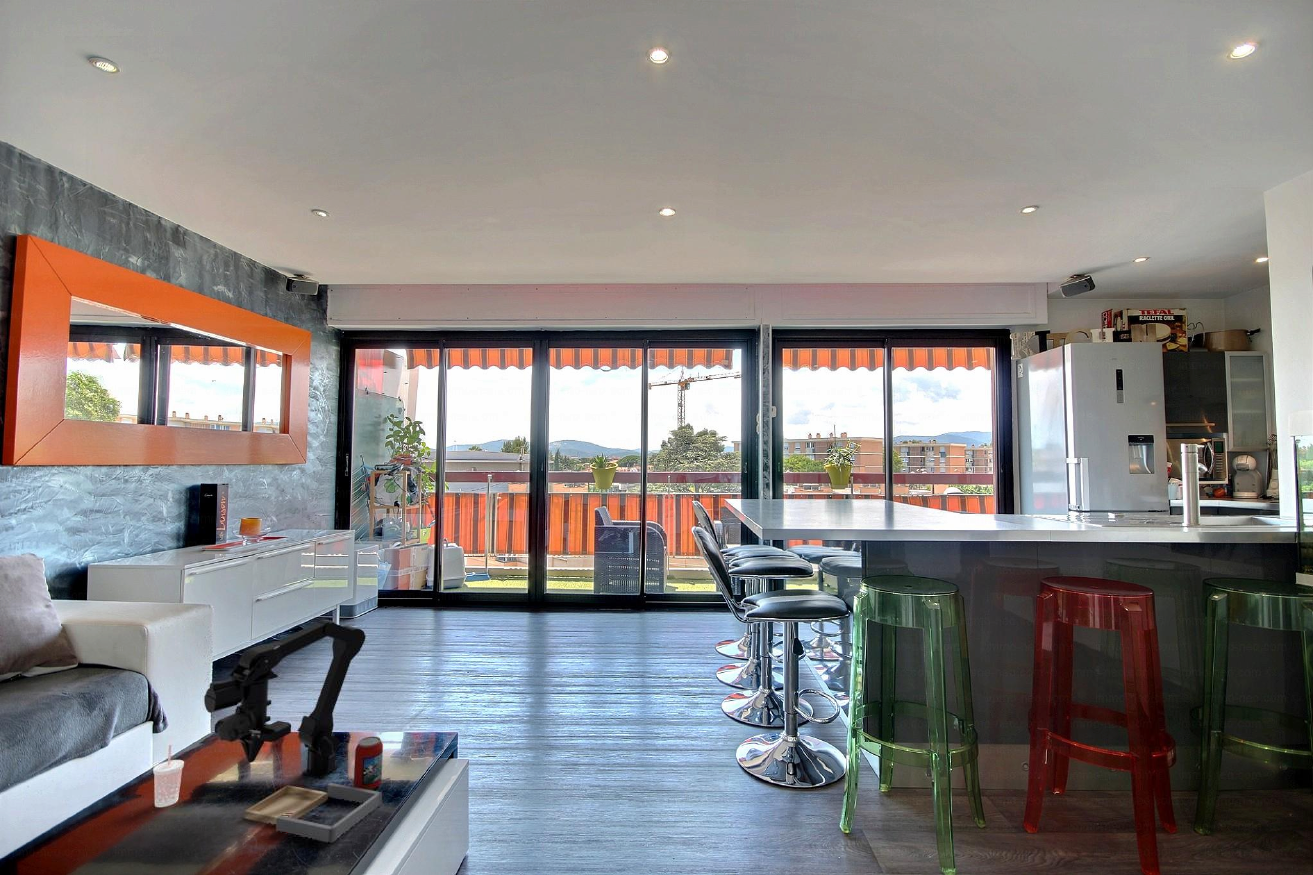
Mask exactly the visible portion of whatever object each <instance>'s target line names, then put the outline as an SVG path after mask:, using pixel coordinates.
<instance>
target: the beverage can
mask: <svg viewBox="0 0 1313 875" xmlns="http://www.w3.org/2000/svg"><path fill="white" fill-rule="evenodd" d="M354 751H355V753H354V765H353V766H354V769H353V770H354V771H353V773H354V774H353V787H355V788H361V789H366V790H371V791H373V790H374V789H376V788H377V787H378V786H380V785H381V783H382V778H383V777H382V774H383V772H382V771H383V757H384V755H383V753H384V744H383V743H382V740H381V738H380V737H378V736H368V737H364V738H362V739H360V740H359V741H358V744H357V745H356V747H355V749H354Z"/></svg>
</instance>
